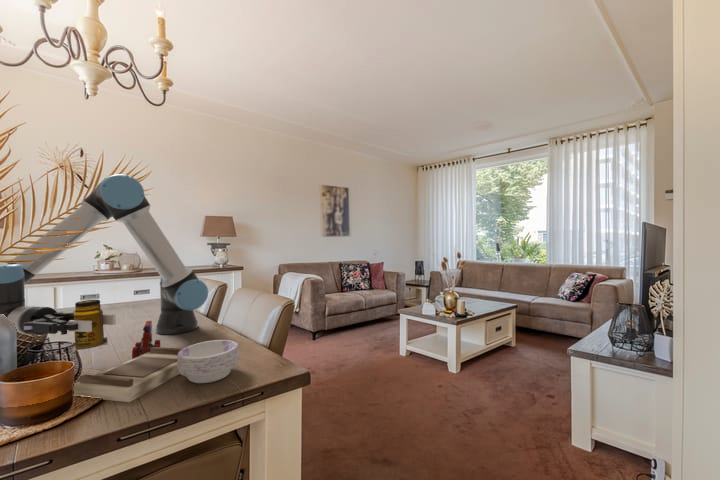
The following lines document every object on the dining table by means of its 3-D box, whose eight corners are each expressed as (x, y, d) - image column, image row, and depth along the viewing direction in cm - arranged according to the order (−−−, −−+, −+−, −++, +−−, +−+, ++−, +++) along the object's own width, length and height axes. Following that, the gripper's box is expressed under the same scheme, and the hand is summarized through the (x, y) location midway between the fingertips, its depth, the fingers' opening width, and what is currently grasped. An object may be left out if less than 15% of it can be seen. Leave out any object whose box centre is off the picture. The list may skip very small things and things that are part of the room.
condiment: (72, 351, 85) (70, 305, 85) (73, 343, 92) (72, 300, 92) (107, 345, 90) (106, 300, 90) (107, 338, 97) (105, 296, 96)
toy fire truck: (130, 364, 101) (130, 330, 101) (137, 352, 112) (136, 321, 112) (157, 360, 104) (157, 327, 104) (161, 348, 115) (160, 318, 115)
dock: (152, 360, 104) (152, 345, 104) (198, 363, 101) (198, 348, 101) (72, 396, 81) (72, 377, 80) (129, 402, 77) (128, 382, 77)
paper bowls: (169, 377, 91) (169, 348, 91) (224, 361, 102) (224, 335, 102) (190, 395, 81) (189, 362, 81) (249, 375, 92) (248, 346, 91)
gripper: (70, 324, 103) (134, 326, 99) (-9, 345, 84) (65, 349, 80) (69, 300, 103) (133, 301, 98) (-10, 315, 84) (64, 317, 80)
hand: (102, 322), depth 89 cm, fingers closed on condiment, 6 cm apart
